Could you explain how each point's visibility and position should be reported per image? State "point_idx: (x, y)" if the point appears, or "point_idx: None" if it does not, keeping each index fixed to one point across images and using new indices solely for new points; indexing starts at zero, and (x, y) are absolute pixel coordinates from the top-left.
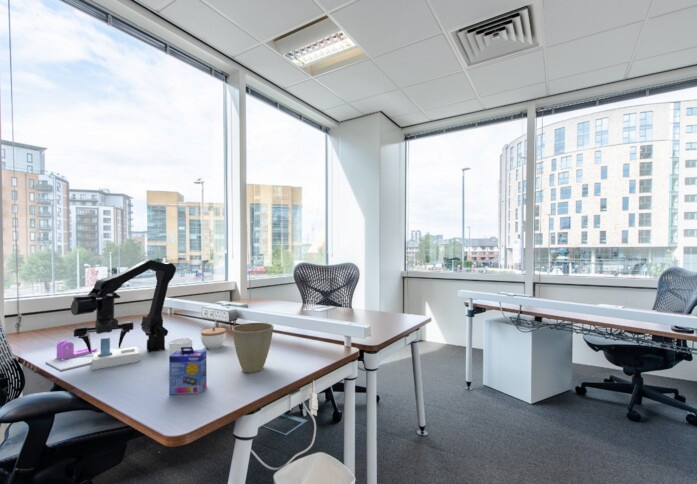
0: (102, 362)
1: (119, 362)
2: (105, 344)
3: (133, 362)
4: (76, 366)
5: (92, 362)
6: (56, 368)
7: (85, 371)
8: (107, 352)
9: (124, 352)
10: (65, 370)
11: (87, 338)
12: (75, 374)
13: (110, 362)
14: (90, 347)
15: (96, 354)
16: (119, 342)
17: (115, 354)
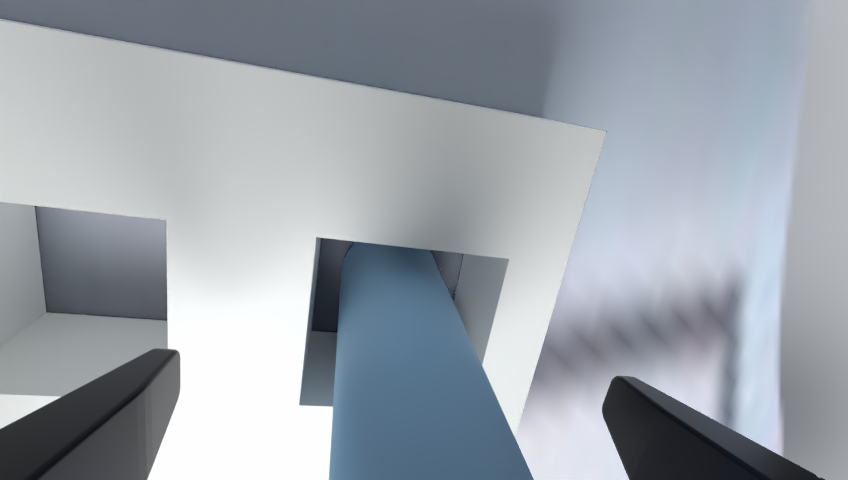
0: (454, 102)
1: (228, 60)
2: (440, 407)
3: (32, 24)
4: (614, 360)
5: (582, 126)
6: (729, 404)
7: (603, 106)
8: (379, 305)
9: None
10: (708, 296)
11: None
12: (699, 67)
13: (350, 83)
14: (686, 425)
15: None
16: (85, 423)
17: (261, 233)
